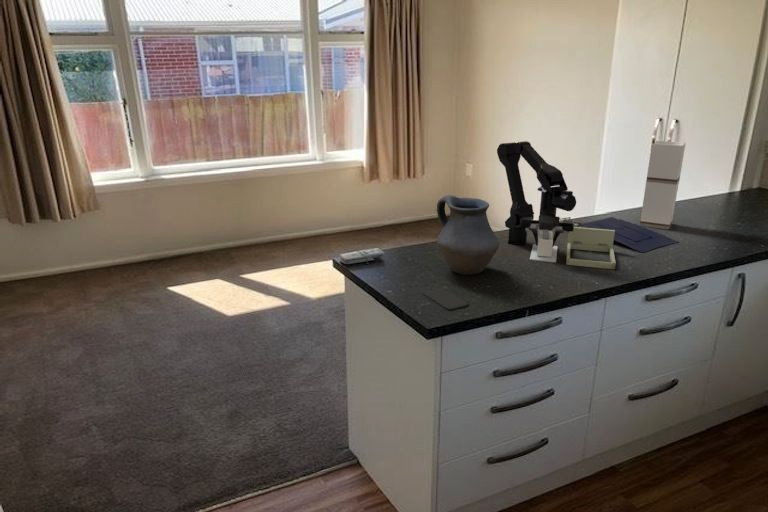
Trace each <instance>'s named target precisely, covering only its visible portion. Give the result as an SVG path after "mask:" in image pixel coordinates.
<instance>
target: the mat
mask: <svg viewBox="0 0 768 512" xmlns="http://www.w3.org/2000/svg"><path fill="white" fill-rule="evenodd" d="M558 247H559V246H557V245H554V246H553V247H552V256H551V257H547V256H537V246H536V243H533V244H532V249H531V252H530V257H529V260H530V261H534V262H535V261H536V262H546V263H556V262H557V256H558Z"/></svg>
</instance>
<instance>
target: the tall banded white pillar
mask: <svg viewBox="0 0 768 512" xmlns="http://www.w3.org/2000/svg"><path fill="white" fill-rule="evenodd" d="M654 142H655V143H654ZM654 142H653V143H651V148H650V153H649V159H648V161H649V162H648V167H647V176H646V181H645V187H644V195H643V199H642V206H641V207H642V209H641V215H640V219H639V222H640V223H639V226H642V227H645V228H646V227H647V228H652V229H653V228H655V229H661V230H668V229H669V230H670V228H671V227H672V225H673V221H674V220H673V218H674V212H675V207H676V201H677V194H678V189H679V184H680V179H681V173H682V167H683V161H684V157H685V156H684V155H685V149H686V142H680V141H667V140H666V141H665V140H655V141H654ZM671 224H672V225H671ZM670 226H671V227H670Z"/></svg>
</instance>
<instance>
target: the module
mask: <svg viewBox="0 0 768 512" xmlns="http://www.w3.org/2000/svg"><path fill="white" fill-rule="evenodd" d="M553 232H554V231H553V230H551V231H549V230H538V246H537V256H547V257H551V256H552V246H553V237H554V233H553Z"/></svg>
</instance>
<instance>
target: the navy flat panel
mask: <svg viewBox="0 0 768 512" xmlns="http://www.w3.org/2000/svg"><path fill="white" fill-rule="evenodd" d="M582 223H583V222H582ZM581 225H583V226H586V227H585V228H594V229H606V230H615V234H614V241H615V242H618V243H619V244H622V245H625V246H626V247H628V248H631V249H633V250H635V251H638V252H641V253H646V252H647V251H651V250H655V249H657V248H660V247H663V246H668V245H673V244H677V243H679V241H678V240H675V239H673V238H671V237H669V236H666V235H664V234H662V233H659V232H658V231H655V230H652V229H649V228H648V227H647V228H646V227H645V226H640V224H636V223H633V222H630V221H625V220H623V219H621V218H619V219H618V218H616V217H612V216H610V217H606V218H603V219H602V218H601V219H599V220H594V221H590V222H589V221H588V222H584V223H583V224H581Z"/></svg>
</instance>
